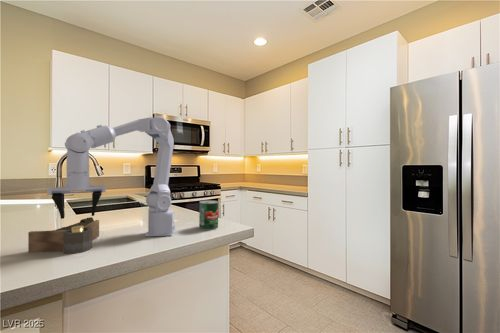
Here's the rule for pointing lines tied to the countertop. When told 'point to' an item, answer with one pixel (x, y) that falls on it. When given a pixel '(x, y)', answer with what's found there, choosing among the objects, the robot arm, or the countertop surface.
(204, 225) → the canned tomato
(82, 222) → the hand tool
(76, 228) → the pin
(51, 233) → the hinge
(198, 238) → the countertop surface
